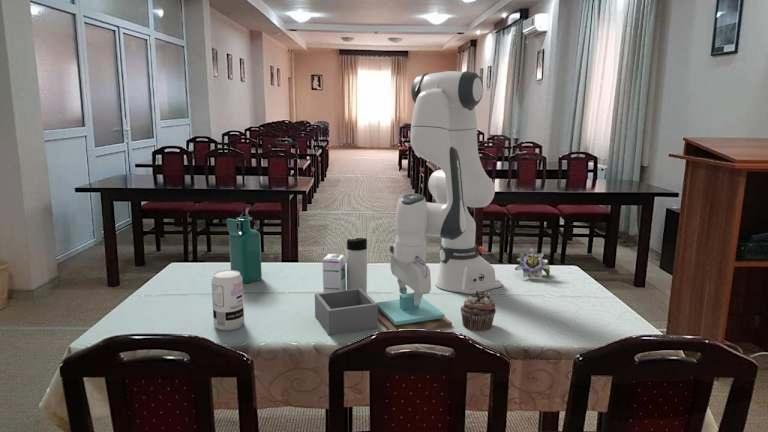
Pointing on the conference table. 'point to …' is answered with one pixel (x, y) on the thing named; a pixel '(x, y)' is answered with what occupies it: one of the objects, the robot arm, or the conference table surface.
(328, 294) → the storage box
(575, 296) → the conference table surface
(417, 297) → the robot arm
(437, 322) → the walnut board
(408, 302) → the lid
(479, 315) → the cupcake
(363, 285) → the travel mug
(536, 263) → the passion flower
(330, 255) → the syrup box
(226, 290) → the supplement can
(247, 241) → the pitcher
